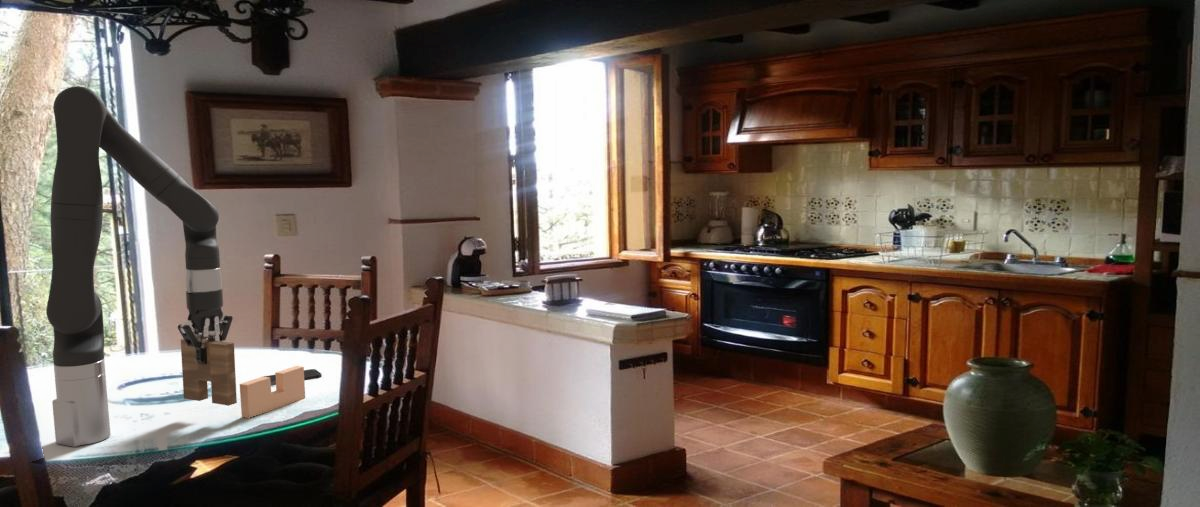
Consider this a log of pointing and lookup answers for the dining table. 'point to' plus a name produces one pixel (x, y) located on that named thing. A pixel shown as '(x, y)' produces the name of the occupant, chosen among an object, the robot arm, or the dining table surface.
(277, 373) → the horizontal wooden crosspiece
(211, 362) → the upright wooden board
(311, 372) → the phone
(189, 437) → the dining table surface
